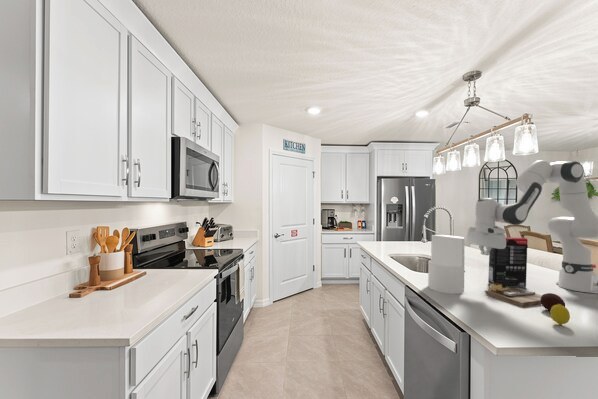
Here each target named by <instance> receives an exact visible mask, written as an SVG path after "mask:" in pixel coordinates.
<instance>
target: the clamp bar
mask: <svg viewBox="0 0 598 399" xmlns="http://www.w3.org/2000/svg"><path fill="white" fill-rule="evenodd" d="M523 290H524V291H509V292H504V294H506V295H509V296H516V295H530V294H535V293H536V291H532V290H528V289H526V290H525V289H523Z"/></svg>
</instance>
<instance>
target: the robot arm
mask: <svg viewBox="0 0 598 399" xmlns="http://www.w3.org/2000/svg"><path fill="white" fill-rule="evenodd" d="M584 171H585V170H584V166H583V165H582V164H581V163H580V162H579V161H576V160H575V161H574V160H568V161H567V160H566V161H555V162H550V161H547V160H542V159H539V160H536V161H534V162H532V163H531V164H530V165H528V167H526V168H524V170H523V171H522V172H521V173H520V174H519V176H518V177H517V179H516V180H515V184H516V187H517V189H519V191H520V192H522V193H523V194H521V196H520V198H519V199H518V200H517V202H515V203H513V204H502V203H500V202H498V201H496V200H495V199H494V197H484V198H483V197H482V198H479V199H478V200H477V201H476V205H475V224H474V225H475V226H474V227H472V226H470V227H469V228H468V229H467V235H466V243H467V244H469V245H475V246H478V248H479V251H480V255H483V256H489V252H490V250H491V248H497V249H505V247H506V235H505V233H506V230H505V229H504V228H502V227H500V226H498V225H496V223H502V224H508V225H513V226H518V225H521V224H523V223H524V222H526V220H527V218H528V216H529V213H530V210H531V209H532V208H533V206H534V204H535V202H536V201H537V200H538V198H539V196H540V195H541V193H542V191H543V187H542V186H543V185H544V184H546V183H551V184H552V183H555V184H556V183H557V184H558V193H559V202H560V207H561V208H562V210H565V211H567V212H568V213H570V214H571V215H572V216H557V217H552V218H551V219H550V220H549V221H548V223H547V229H548V230H549V232H550V233H552V235H554V236H555V237H556V238H557V239H558V241H559V242H560V245H561V248H562V261H561V269H560V270H559V273H558V281H556V282H555V284H556V285H558V287H560V288H563V289H566V290H570V291H576V292H581V293H582V292H583V293H592V294H598V274H597V273H596V272H595V271H594V269H596V268H597V264H593V263H592V251H591V249H590V248H589V247H588V246H587V245H584V244H583V243H582V242H581V241H580V238H582V239H589V240H590V239H593V240H594V239H595V240H596V239H598V215H597V214H596V213H595V212H594V210H593V209H592V208H591V205H590V201H589V195H588V187H587V183H586V180H585V177H584V173H585V172H584ZM484 248H485V249H486V250H485V249H484Z"/></svg>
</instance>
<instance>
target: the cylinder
mask: <svg viewBox="0 0 598 399" xmlns="http://www.w3.org/2000/svg"><path fill="white" fill-rule="evenodd" d="M465 243H466V242H465V237H463V236H458V235H452V234H451V235H450V234H448V235H447V234H432V235H431V250H430V252H431V255H430V256H431V259H430V260H428V265H427V266H428V275H427V276H428V279H427V281H428V282H427V284H428V288H429V289H431V290H432V291H435V292H439V293H443V294H450V295H452V294H453V295H455V294H462V293H465Z"/></svg>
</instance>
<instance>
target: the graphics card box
mask: <svg viewBox="0 0 598 399" xmlns="http://www.w3.org/2000/svg"><path fill="white" fill-rule="evenodd" d="M505 237H506V236H505ZM488 256H489V258H488V276H487V277H488V279H487V280H488V284H491V283H498V284H502V287H506V288H514V287H515V288H527V271H528V270H527V267H528V266H527V264H528V238H525V237H512V236H511V237H509V236H507V237H506V247H505V249H497V248H491V250H490V252H489V255H488Z"/></svg>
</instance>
